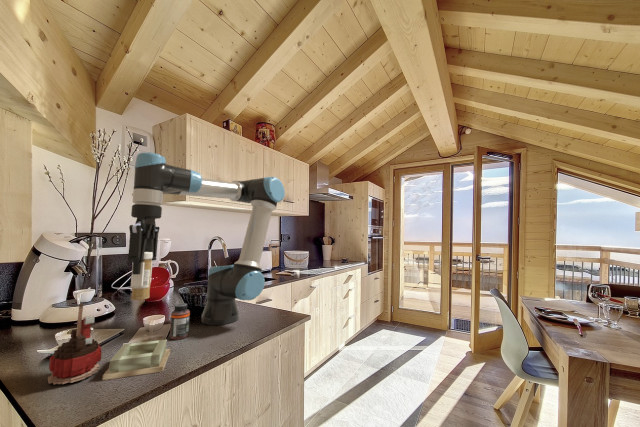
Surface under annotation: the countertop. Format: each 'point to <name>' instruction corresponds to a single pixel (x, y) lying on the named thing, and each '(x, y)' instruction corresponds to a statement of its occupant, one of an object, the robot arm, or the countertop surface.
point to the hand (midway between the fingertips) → (141, 284)
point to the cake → (76, 354)
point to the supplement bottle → (179, 322)
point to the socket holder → (138, 359)
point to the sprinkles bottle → (144, 280)
